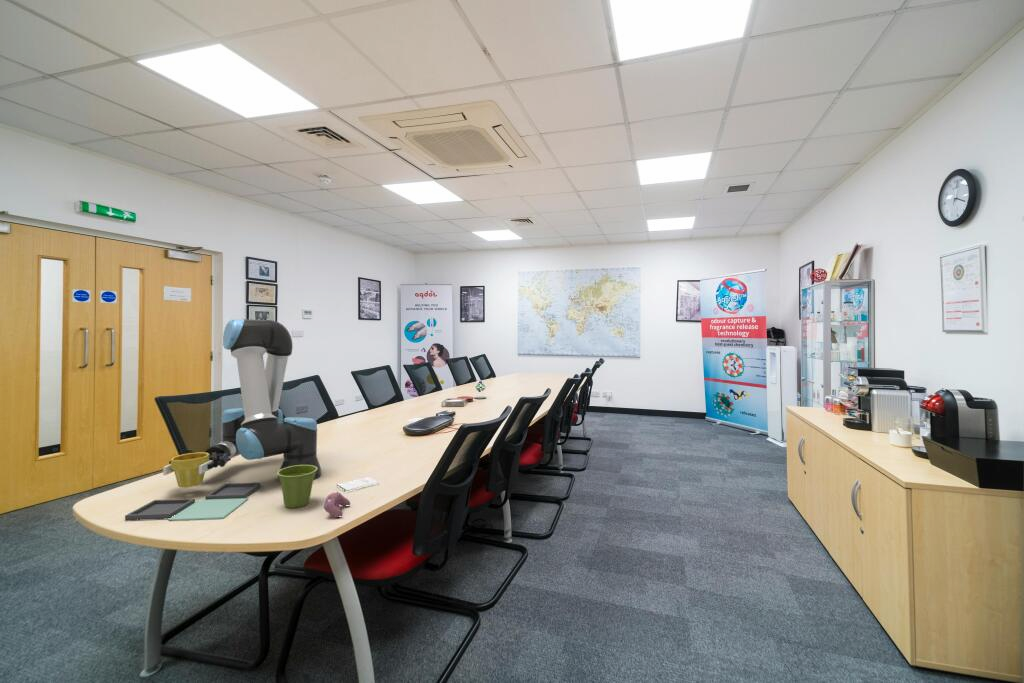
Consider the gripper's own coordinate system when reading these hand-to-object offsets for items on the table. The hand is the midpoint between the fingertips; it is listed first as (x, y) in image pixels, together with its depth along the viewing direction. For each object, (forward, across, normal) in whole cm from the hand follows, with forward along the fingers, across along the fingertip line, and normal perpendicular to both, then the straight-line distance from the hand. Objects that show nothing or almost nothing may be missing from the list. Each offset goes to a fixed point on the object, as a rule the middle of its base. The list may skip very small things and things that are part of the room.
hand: (182, 470), depth 138 cm
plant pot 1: (-4, 0, -6) cm, 8 cm away
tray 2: (-4, -14, -10) cm, 18 cm away
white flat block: (-8, -55, -11) cm, 56 cm away
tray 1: (+10, 0, -10) cm, 14 cm away
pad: (+10, -14, -10) cm, 20 cm away
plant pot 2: (+8, -39, -11) cm, 41 cm away
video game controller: (+16, -54, -11) cm, 57 cm away
